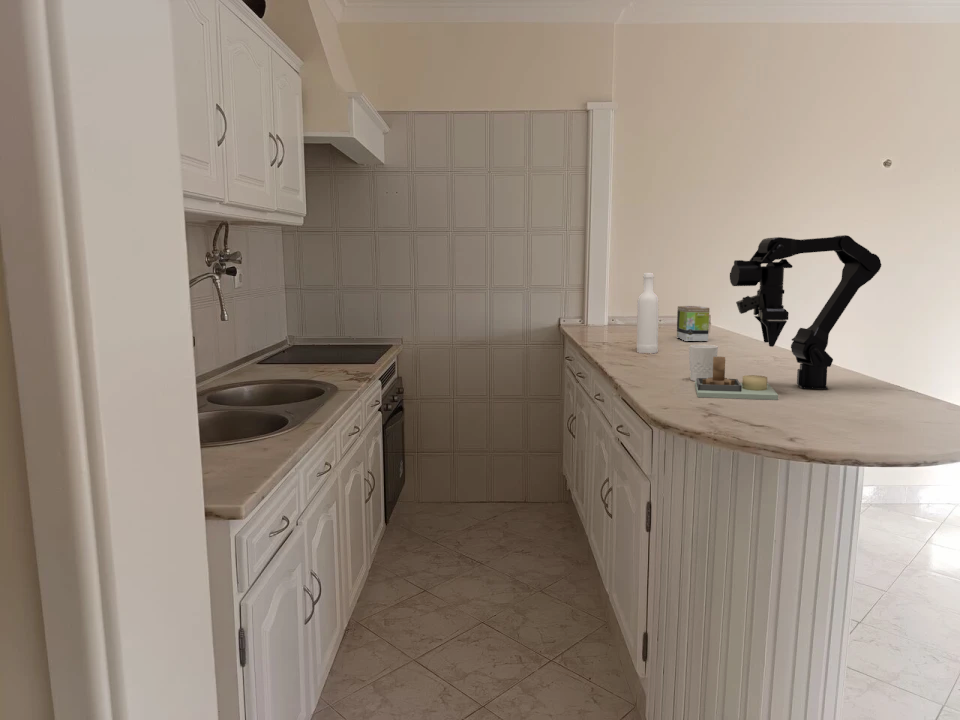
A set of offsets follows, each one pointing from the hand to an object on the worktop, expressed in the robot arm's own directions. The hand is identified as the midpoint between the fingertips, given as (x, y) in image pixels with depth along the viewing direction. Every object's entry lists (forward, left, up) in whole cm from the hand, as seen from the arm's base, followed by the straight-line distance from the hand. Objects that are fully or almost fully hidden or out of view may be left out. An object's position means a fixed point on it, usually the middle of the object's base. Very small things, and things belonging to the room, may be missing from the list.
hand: (768, 344), depth 183 cm
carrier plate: (+9, +7, -12) cm, 17 cm away
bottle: (+33, -71, -12) cm, 79 cm away
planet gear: (+13, +7, -11) cm, 18 cm away
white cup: (+16, -11, -12) cm, 23 cm away
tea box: (+15, -114, -12) cm, 116 cm away
